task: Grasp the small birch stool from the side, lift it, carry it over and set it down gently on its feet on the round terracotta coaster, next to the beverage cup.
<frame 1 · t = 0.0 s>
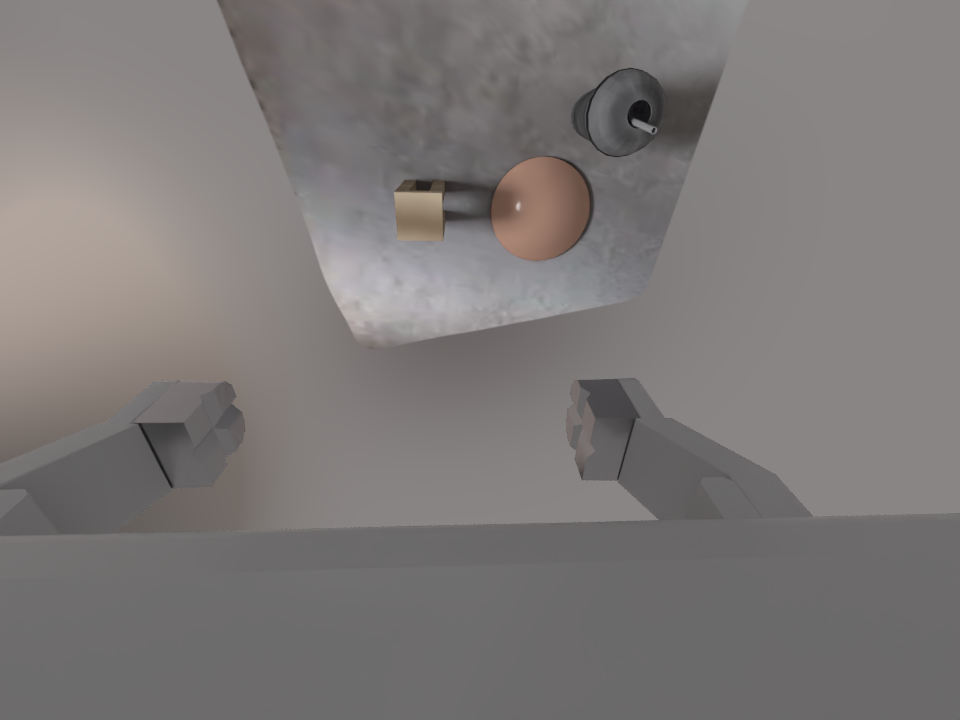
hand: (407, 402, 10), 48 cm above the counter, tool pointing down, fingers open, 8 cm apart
coaster: (539, 211, 54), on the counter
beverage cup: (589, 115, 49), on the counter
stool: (425, 201, 53), on the counter
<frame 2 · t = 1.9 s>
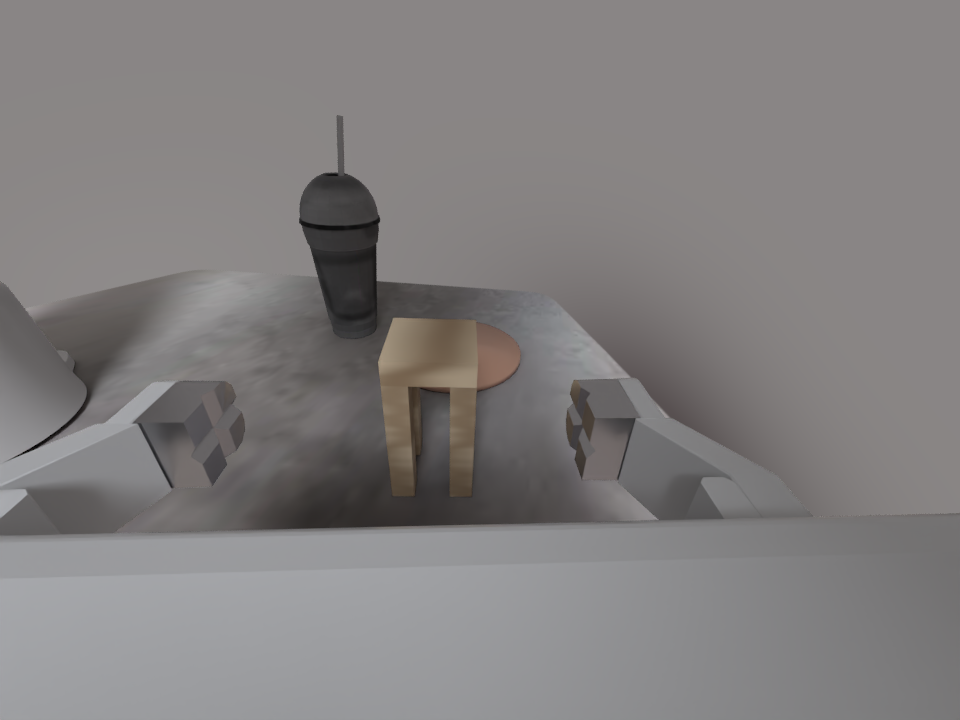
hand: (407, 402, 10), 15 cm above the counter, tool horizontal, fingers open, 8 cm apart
coaster: (454, 354, 41), on the counter
beverage cup: (355, 330, 45), on the counter
stool: (434, 466, 28), on the counter
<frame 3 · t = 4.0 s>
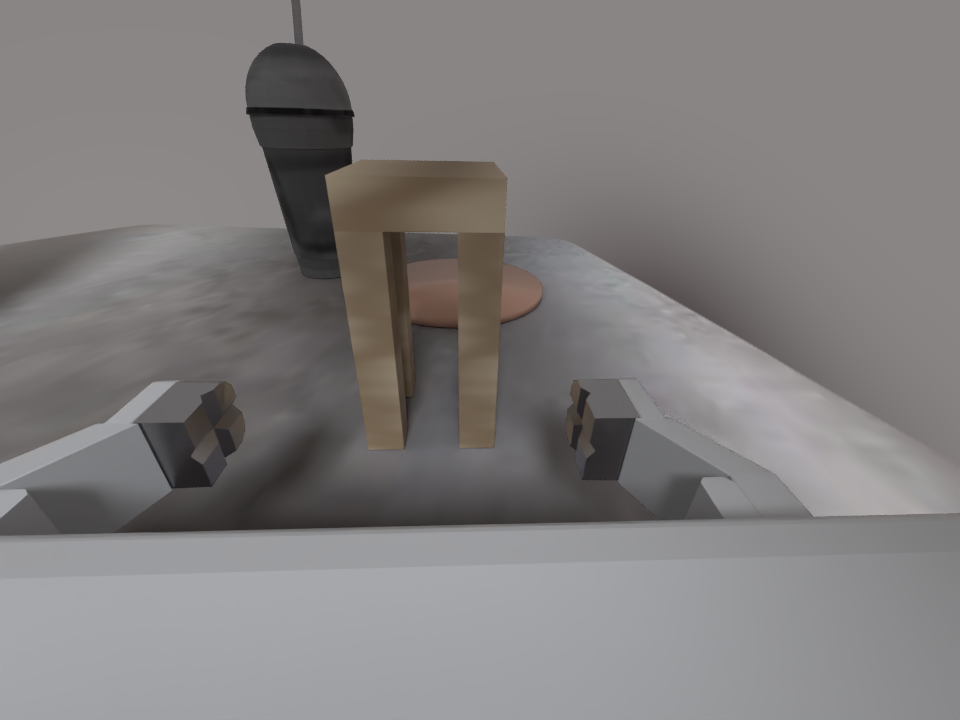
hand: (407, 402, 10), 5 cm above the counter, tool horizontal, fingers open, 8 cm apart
coaster: (457, 290, 31), on the counter
beverage cup: (329, 272, 35), on the counter
stool: (434, 410, 18), on the counter
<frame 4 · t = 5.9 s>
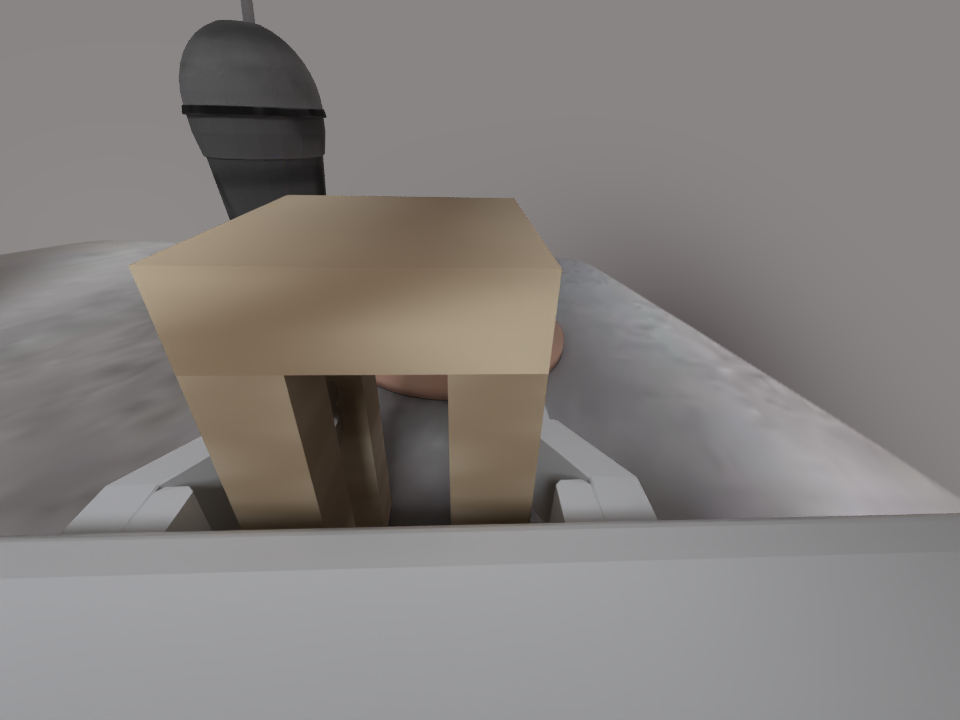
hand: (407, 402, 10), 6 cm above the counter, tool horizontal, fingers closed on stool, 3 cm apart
coaster: (455, 337, 25), on the counter
beverage cup: (300, 307, 29), on the counter
stool: (417, 571, 12), on the counter, touching gripper
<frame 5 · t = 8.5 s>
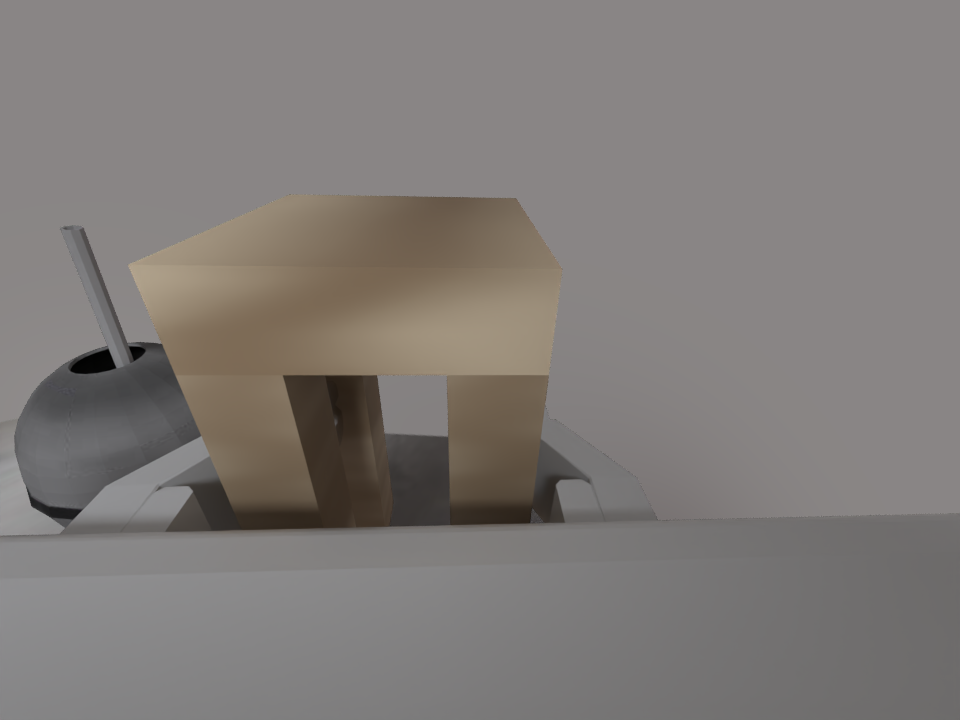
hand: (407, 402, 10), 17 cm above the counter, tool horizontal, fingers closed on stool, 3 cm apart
beverage cup: (235, 604, 22), on the counter
stool: (418, 571, 12), point 11 cm above the counter, touching gripper
when the fingers open (7 cm above the counter, at t = 10.7 s): stool drops 1 cm, resting on coaster.
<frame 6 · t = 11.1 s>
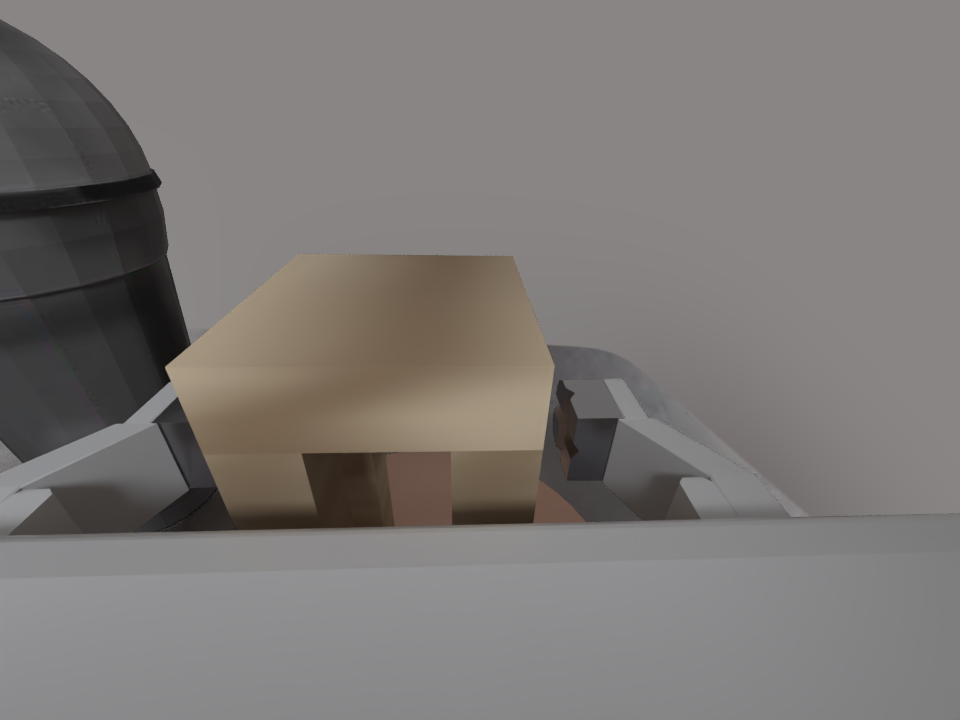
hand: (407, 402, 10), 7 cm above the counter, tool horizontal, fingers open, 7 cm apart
coaster: (419, 605, 13), on the counter
beverage cup: (161, 493, 17), on the counter
stool: (420, 600, 13), point 1 cm above the counter, touching coaster
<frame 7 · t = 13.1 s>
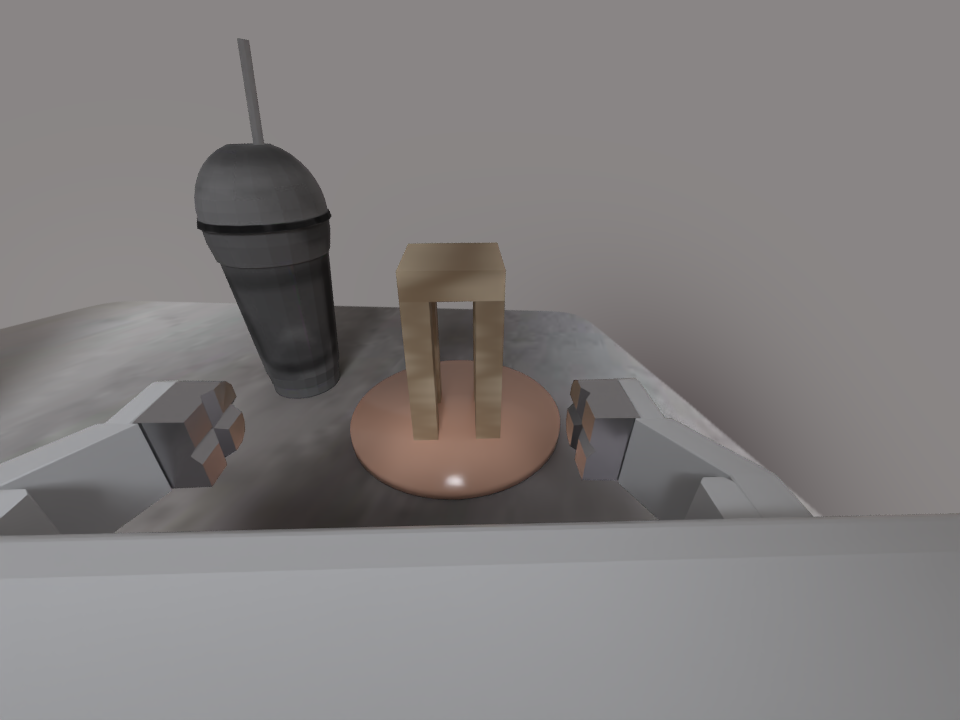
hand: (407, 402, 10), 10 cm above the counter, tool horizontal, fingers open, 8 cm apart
coaster: (456, 418, 26), on the counter
beverage cup: (308, 382, 30), on the counter
stool: (457, 412, 26), point 1 cm above the counter, touching coaster
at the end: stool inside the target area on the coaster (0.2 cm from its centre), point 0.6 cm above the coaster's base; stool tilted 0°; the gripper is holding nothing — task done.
